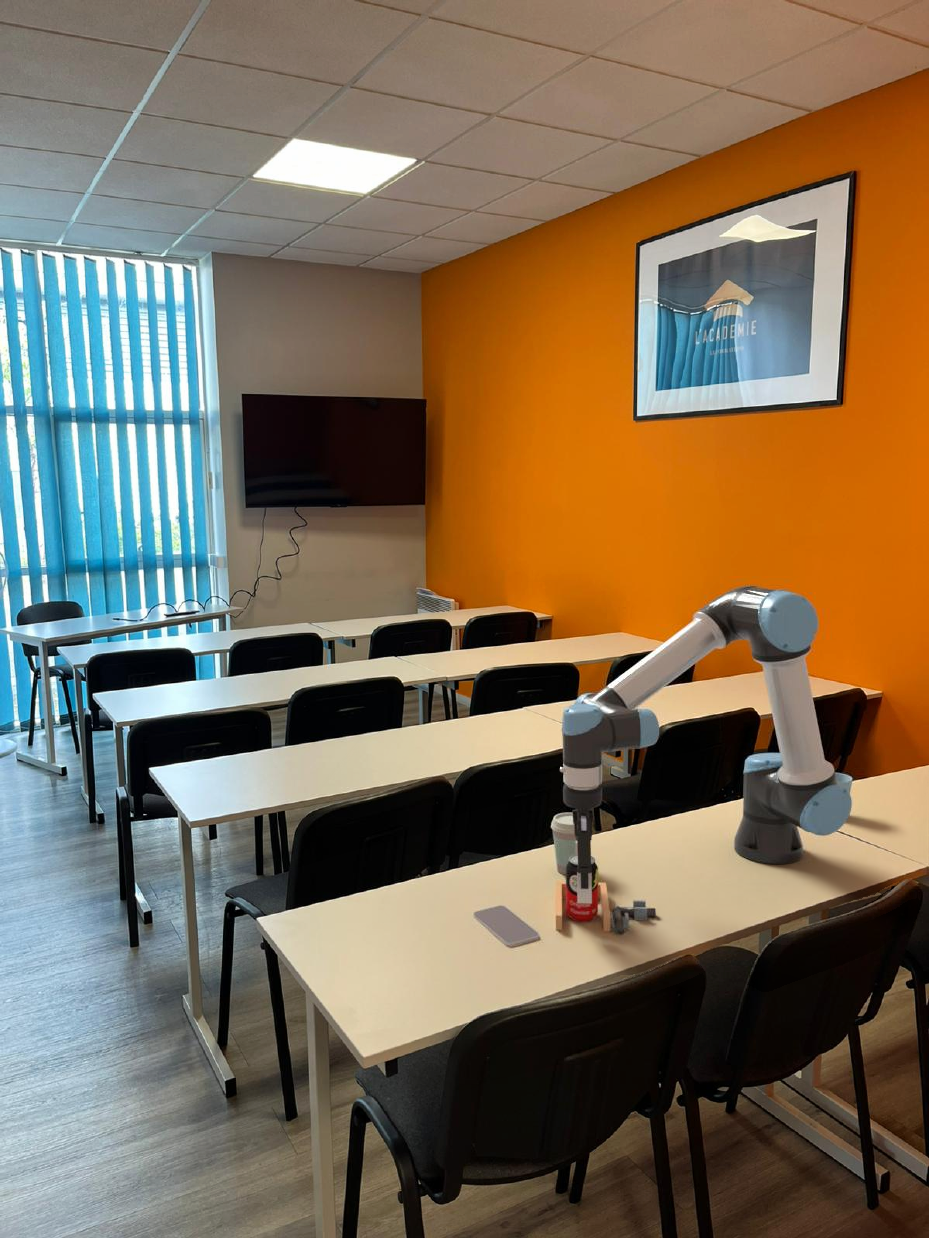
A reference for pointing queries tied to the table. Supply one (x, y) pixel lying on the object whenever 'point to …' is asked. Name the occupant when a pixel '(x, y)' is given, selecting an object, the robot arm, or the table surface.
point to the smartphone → (506, 925)
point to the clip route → (637, 911)
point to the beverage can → (574, 909)
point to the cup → (844, 781)
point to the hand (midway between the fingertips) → (583, 886)
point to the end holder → (601, 895)
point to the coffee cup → (563, 839)
